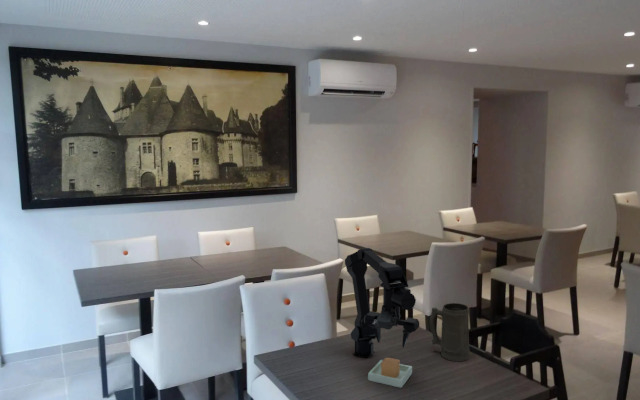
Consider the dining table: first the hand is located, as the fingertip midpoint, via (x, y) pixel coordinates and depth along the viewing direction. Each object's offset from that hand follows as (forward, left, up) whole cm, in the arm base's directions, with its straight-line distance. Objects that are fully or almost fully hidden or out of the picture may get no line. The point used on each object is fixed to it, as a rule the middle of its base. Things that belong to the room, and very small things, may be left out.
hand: (391, 344), depth 169 cm
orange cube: (0, -2, -10) cm, 10 cm away
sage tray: (0, -2, -11) cm, 11 cm away
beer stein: (+14, +26, -11) cm, 31 cm away
